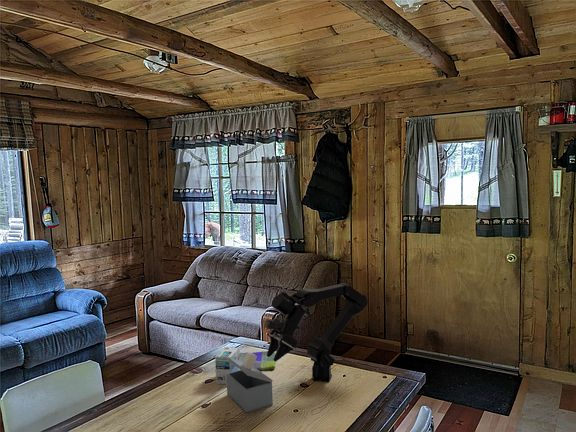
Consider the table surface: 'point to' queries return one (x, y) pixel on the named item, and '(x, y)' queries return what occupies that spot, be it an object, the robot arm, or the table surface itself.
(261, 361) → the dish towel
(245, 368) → the carton lid
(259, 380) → the carton
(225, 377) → the light bulb box
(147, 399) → the table surface
